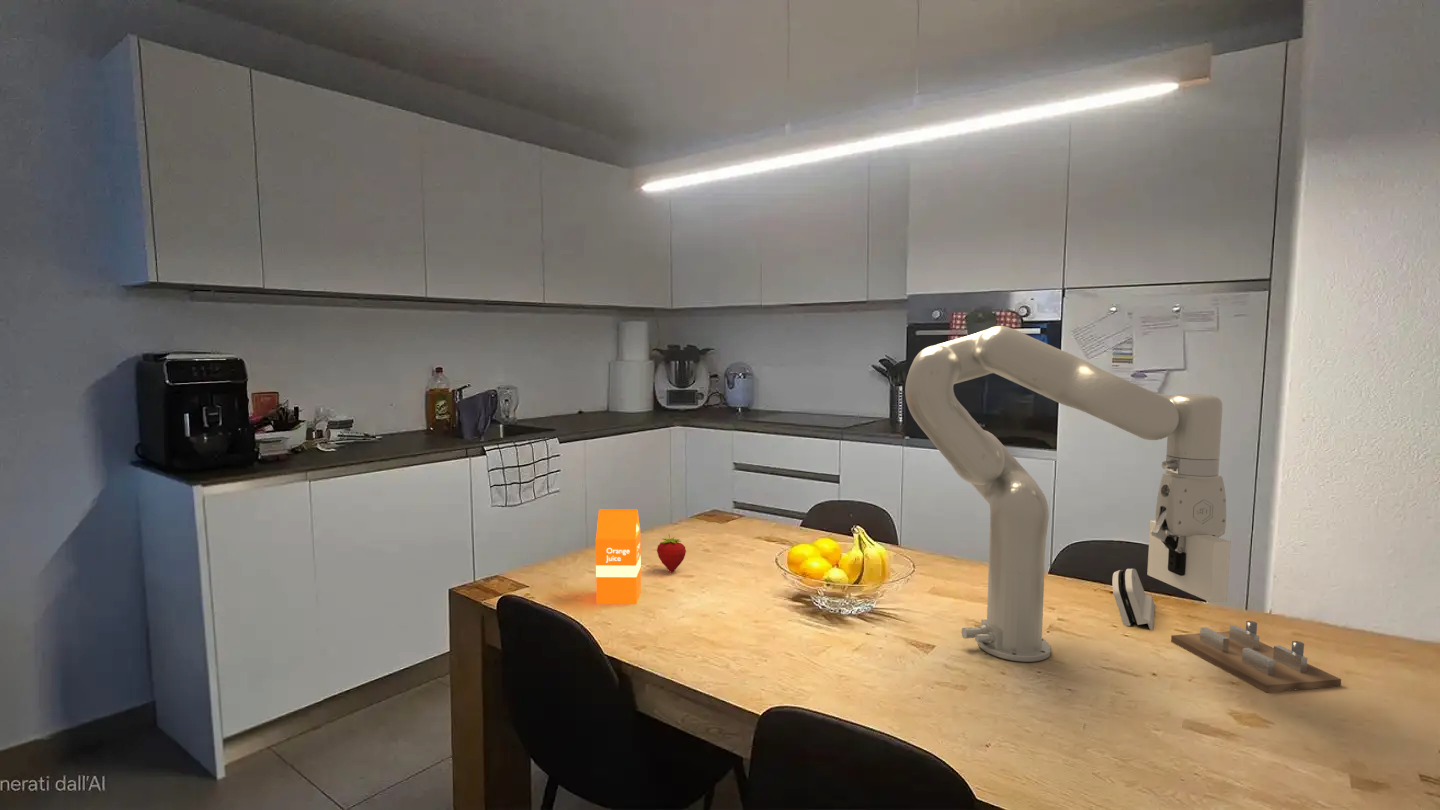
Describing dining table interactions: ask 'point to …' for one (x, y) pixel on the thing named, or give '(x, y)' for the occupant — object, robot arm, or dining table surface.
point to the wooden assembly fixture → (1256, 659)
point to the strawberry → (671, 553)
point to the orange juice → (618, 557)
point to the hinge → (1132, 598)
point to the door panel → (1194, 565)
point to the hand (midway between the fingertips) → (1185, 571)
